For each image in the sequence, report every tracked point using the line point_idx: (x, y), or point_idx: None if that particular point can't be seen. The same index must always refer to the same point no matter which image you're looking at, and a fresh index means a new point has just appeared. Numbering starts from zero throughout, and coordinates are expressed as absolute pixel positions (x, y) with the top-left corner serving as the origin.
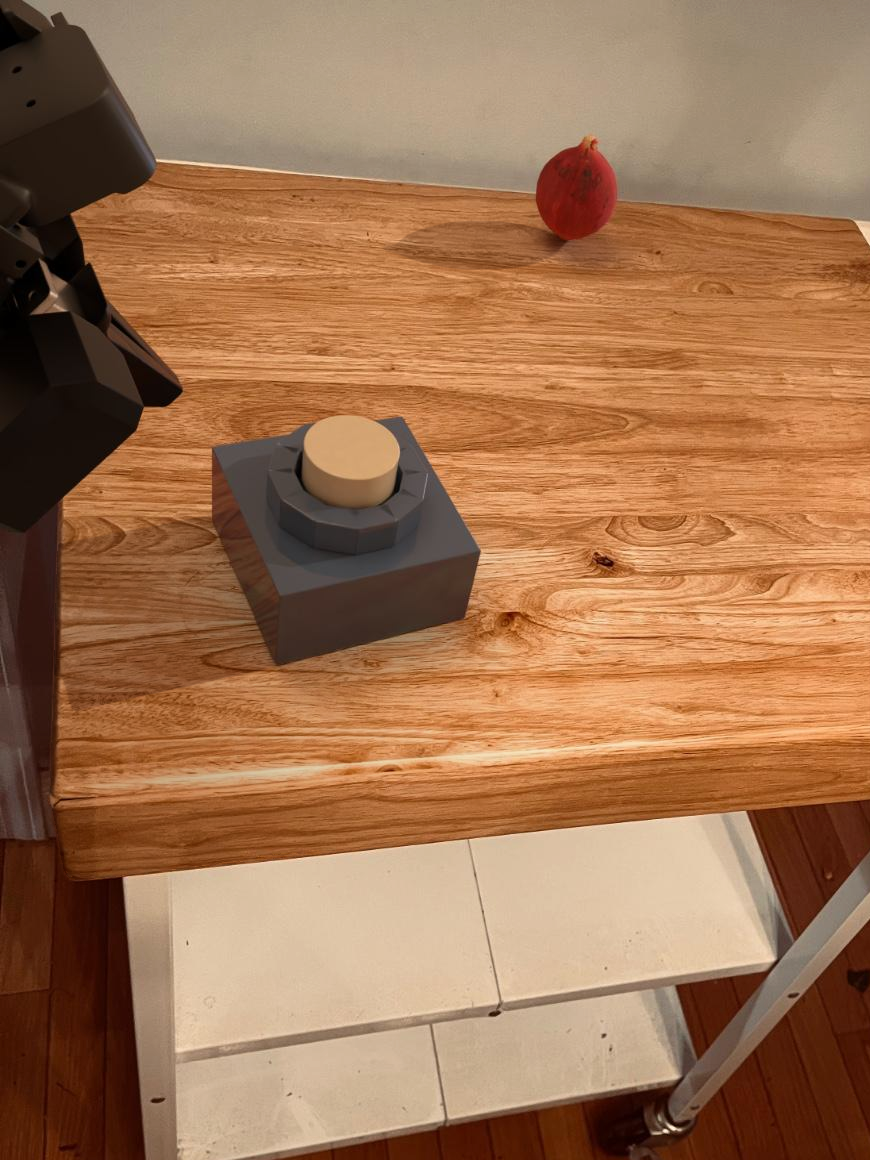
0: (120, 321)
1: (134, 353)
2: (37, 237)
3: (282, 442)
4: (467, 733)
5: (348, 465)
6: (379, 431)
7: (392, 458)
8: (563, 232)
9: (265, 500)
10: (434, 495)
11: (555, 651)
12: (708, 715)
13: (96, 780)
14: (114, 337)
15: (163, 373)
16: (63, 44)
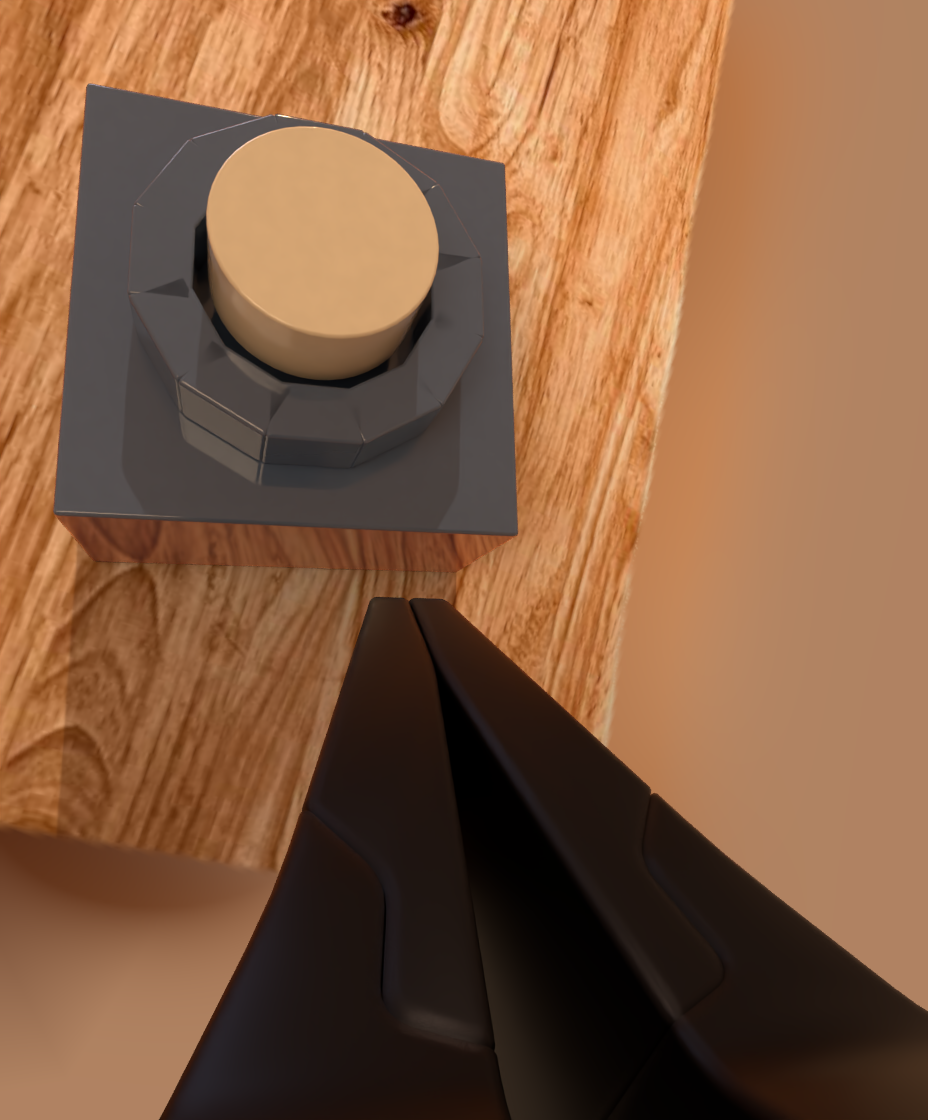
0: (436, 835)
1: (666, 811)
2: None
3: (179, 365)
4: (635, 372)
5: (390, 268)
6: (294, 147)
7: (392, 169)
8: None
9: (267, 466)
10: None
11: (542, 187)
12: (687, 79)
13: None
14: (799, 950)
15: (512, 667)
16: None
